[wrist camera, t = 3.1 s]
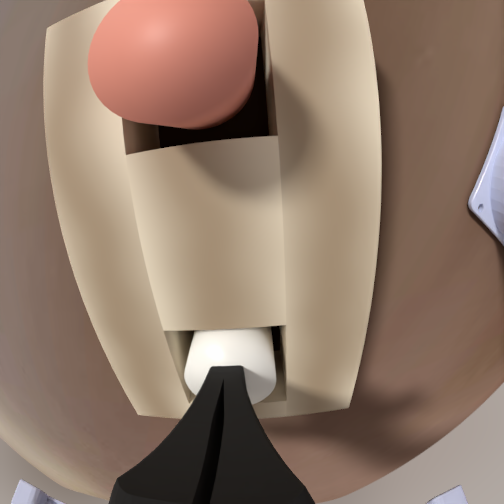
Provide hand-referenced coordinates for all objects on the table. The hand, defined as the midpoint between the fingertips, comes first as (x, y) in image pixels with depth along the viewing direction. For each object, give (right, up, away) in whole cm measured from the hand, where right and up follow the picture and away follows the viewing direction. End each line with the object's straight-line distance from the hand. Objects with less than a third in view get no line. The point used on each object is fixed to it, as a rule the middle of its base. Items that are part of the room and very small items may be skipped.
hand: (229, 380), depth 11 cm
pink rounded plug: (-1, +12, -3) cm, 12 cm away
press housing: (0, +7, +2) cm, 8 cm away
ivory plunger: (0, +2, +4) cm, 4 cm away
